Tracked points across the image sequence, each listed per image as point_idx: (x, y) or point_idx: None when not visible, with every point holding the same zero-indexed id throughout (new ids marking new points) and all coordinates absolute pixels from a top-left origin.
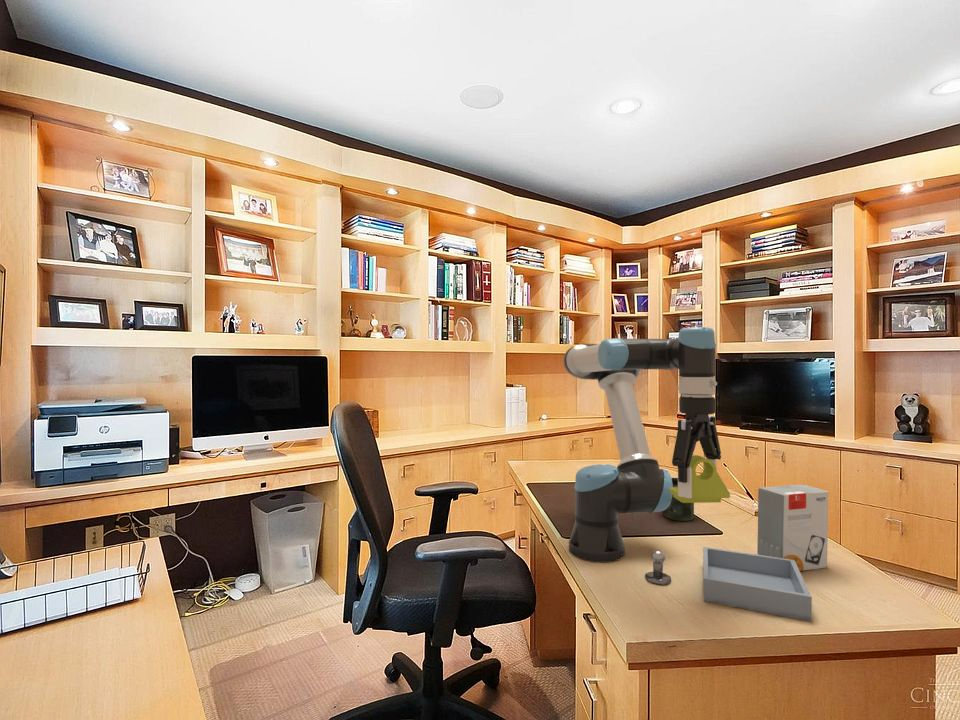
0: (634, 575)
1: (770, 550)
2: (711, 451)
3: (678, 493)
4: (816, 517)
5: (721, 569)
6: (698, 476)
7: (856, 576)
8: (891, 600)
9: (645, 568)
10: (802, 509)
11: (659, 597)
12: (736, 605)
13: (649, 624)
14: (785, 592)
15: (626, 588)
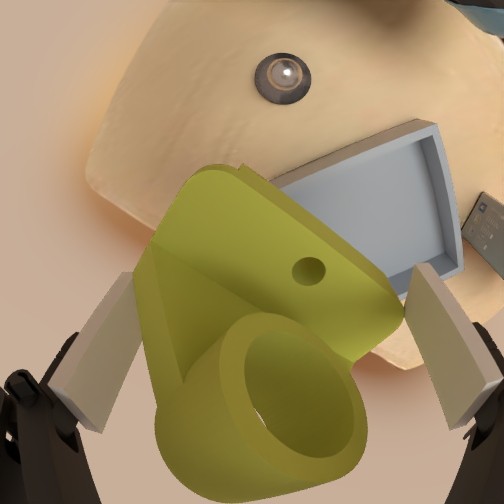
0: (258, 38)
1: (487, 229)
2: (460, 477)
3: (117, 281)
4: None
5: (413, 157)
6: (292, 355)
7: (491, 295)
8: None
9: (311, 35)
10: None
11: (213, 123)
12: None
13: (126, 169)
14: None
15: (192, 65)
